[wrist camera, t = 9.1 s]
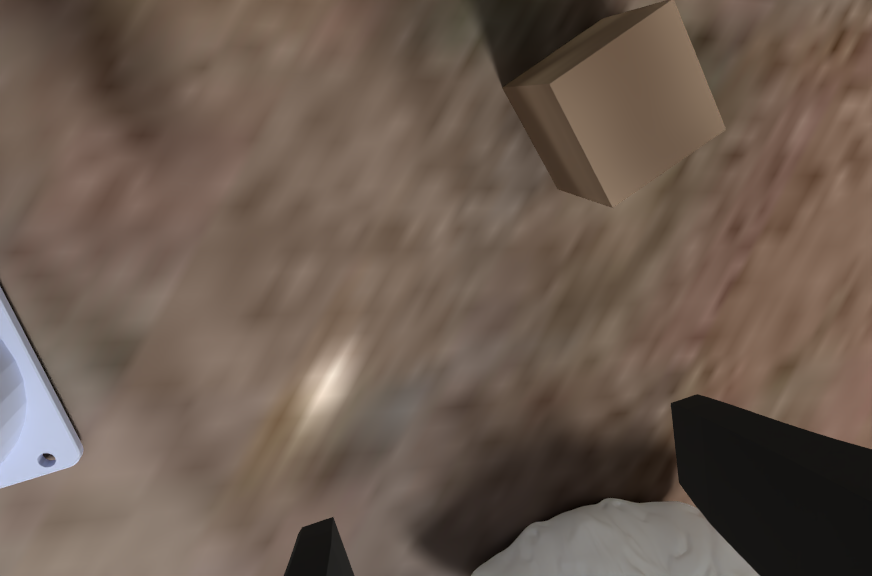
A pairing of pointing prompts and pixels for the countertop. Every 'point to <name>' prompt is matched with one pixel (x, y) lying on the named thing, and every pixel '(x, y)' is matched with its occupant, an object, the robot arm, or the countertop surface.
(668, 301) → the countertop surface
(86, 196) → the countertop surface
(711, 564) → the bust
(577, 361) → the countertop surface
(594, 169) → the walnut cube
